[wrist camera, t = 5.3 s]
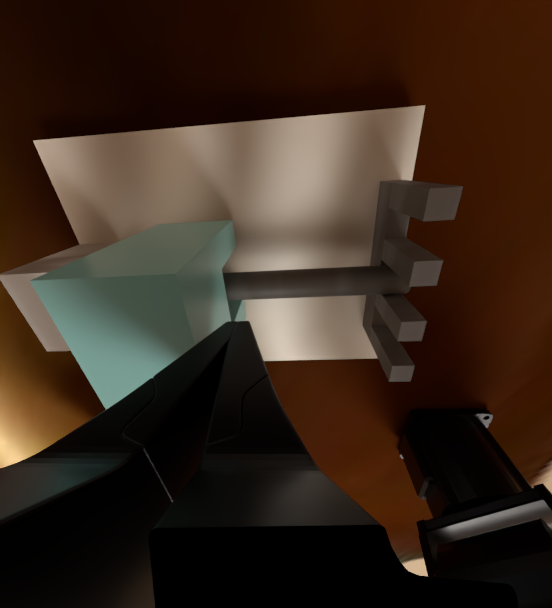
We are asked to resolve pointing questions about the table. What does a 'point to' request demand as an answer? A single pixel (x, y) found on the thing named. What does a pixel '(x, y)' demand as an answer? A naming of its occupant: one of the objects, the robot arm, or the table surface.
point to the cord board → (268, 223)
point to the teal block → (142, 302)
